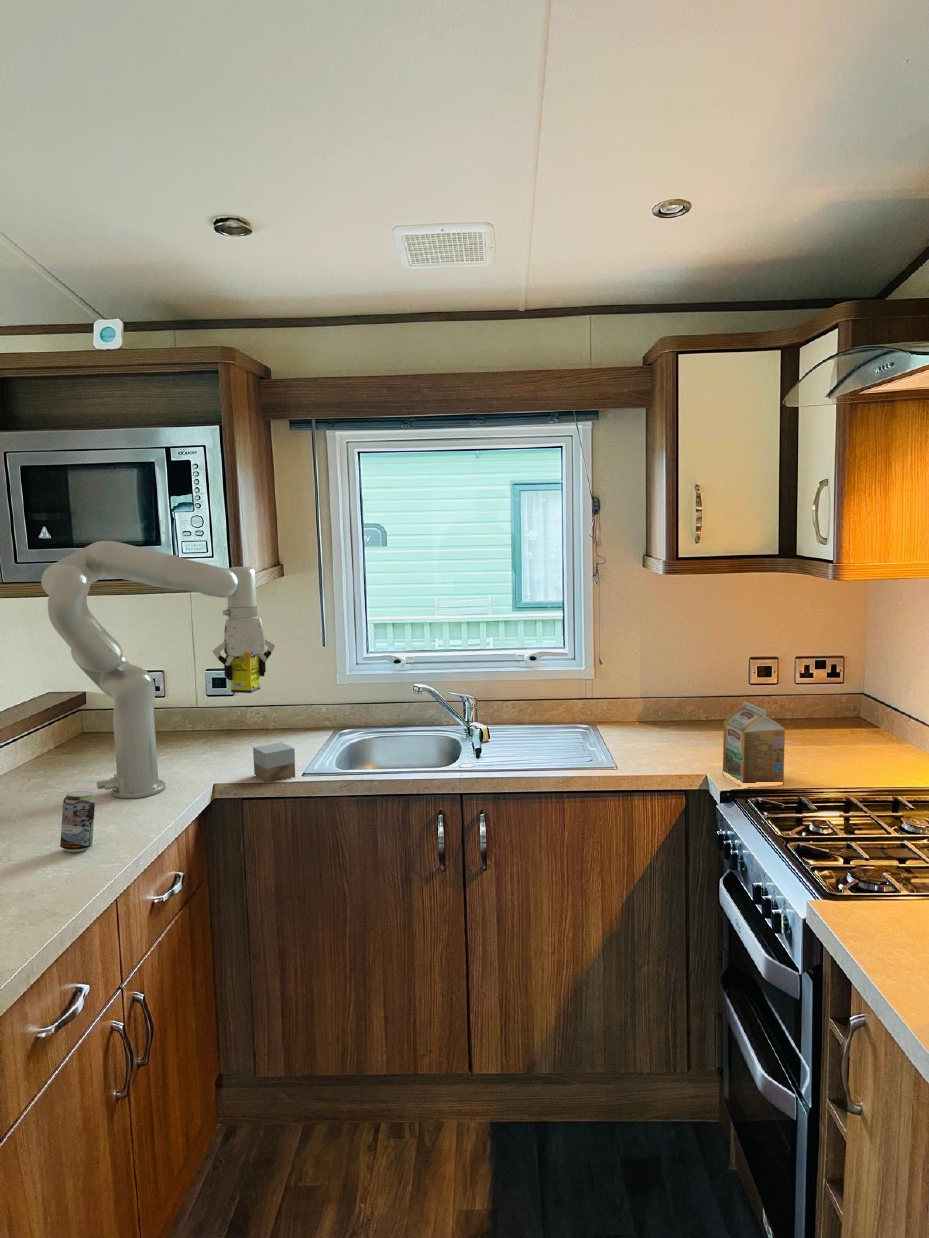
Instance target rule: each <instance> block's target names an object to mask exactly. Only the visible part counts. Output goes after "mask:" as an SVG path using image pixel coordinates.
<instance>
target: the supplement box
mask: <svg viewBox="0 0 929 1238" xmlns="http://www.w3.org/2000/svg"><path fill="white" fill-rule="evenodd" d="M230 665H231V666H232V675H233V680H230V691H231V693H234V694H235V693H236V694H239V693H241V694H252V693H254V692H257V691H259V690H261V676H260V665H259V655H253V652H247V653H244V655H243V656H242V657H234V658H233V660H232V661H231V663H230Z"/></svg>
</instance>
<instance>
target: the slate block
mask: <svg viewBox="0 0 929 1238" xmlns="http://www.w3.org/2000/svg"><path fill="white" fill-rule="evenodd" d="M252 754H253V757H252V758H253V764H254V763H256V764H258V765H260V766H262V767H263V768H265V769H268V768H273V767H278V766H284V765H289V764H294V763H296V757H295V756H296V755H295V754H296V753H295V747H293V746H290V745H289V744H287V743H284V742H282V741H280V742H276V743H274V742H273V743H269V744H264V745H257V746H253V747H252Z"/></svg>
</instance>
